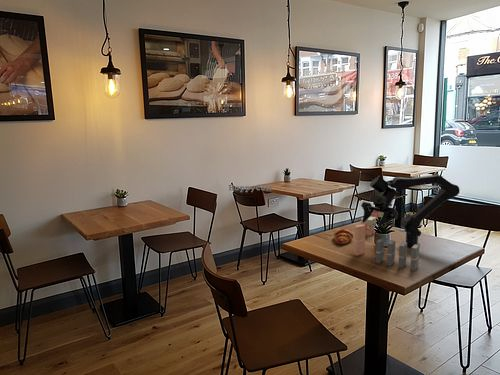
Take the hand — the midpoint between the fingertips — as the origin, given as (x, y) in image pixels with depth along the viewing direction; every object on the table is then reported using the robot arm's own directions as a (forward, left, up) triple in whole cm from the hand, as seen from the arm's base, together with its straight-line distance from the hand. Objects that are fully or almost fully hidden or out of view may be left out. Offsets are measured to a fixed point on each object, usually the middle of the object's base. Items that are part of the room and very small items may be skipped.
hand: (370, 224), depth 185 cm
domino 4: (+11, +18, -14) cm, 25 cm away
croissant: (-9, -18, -14) cm, 24 cm away
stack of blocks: (-34, -11, -14) cm, 38 cm away
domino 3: (+11, +13, -14) cm, 22 cm away
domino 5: (+11, +23, -14) cm, 29 cm away
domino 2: (+11, +8, -14) cm, 19 cm away
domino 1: (+7, -3, -13) cm, 15 cm away
